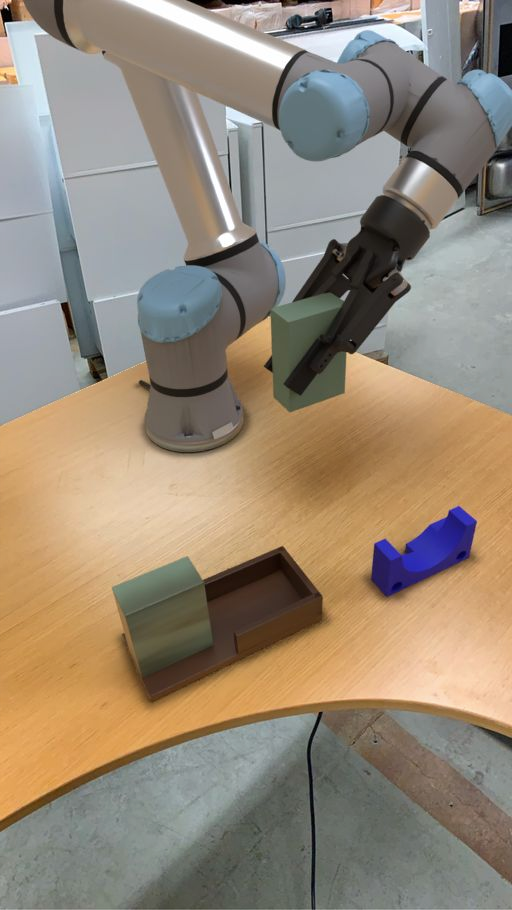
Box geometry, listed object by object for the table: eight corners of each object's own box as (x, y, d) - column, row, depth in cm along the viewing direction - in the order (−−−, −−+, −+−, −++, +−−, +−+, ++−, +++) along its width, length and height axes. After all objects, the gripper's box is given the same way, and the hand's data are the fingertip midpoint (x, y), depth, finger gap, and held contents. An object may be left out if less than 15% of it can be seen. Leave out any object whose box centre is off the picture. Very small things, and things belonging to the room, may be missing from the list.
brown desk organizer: (123, 639, 71) (103, 571, 64) (283, 568, 78) (281, 500, 71) (151, 702, 65) (132, 634, 58) (322, 619, 72) (323, 550, 65)
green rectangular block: (273, 397, 81) (270, 308, 74) (327, 378, 84) (329, 291, 77) (289, 412, 79) (288, 322, 71) (344, 393, 81) (348, 304, 74)
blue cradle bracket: (443, 534, 81) (450, 498, 77) (469, 557, 78) (477, 521, 74) (363, 571, 77) (366, 534, 73) (386, 597, 74) (390, 560, 70)
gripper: (474, 254, 70) (340, 427, 75) (377, 212, 82) (267, 363, 87) (441, 214, 65) (300, 403, 69) (343, 175, 77) (228, 338, 81)
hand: (282, 380), depth 78 cm, fingers closed on green rectangular block, 4 cm apart
